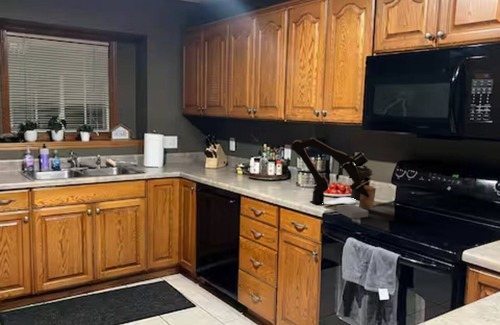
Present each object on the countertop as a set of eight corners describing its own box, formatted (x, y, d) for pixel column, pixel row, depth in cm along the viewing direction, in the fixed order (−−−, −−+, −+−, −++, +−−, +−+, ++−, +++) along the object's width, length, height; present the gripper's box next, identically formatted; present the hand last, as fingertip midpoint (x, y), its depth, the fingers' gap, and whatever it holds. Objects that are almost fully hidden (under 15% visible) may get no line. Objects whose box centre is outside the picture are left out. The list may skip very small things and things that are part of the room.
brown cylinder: (359, 207, 239) (361, 188, 237) (362, 204, 244) (364, 186, 242) (369, 209, 236) (372, 190, 234) (373, 207, 241) (375, 188, 239)
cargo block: (363, 191, 238) (364, 186, 237) (365, 190, 241) (366, 185, 240) (370, 193, 236) (371, 187, 235) (372, 191, 239) (373, 186, 238)
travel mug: (354, 196, 269) (358, 164, 265) (365, 199, 264) (369, 166, 260) (348, 198, 264) (351, 165, 260) (359, 201, 259) (363, 168, 255)
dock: (336, 211, 236) (337, 206, 235) (352, 209, 241) (353, 204, 240) (351, 218, 225) (351, 212, 225) (367, 216, 230) (368, 211, 230)
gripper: (358, 166, 230) (376, 190, 226) (369, 161, 245) (387, 184, 242) (342, 178, 235) (360, 202, 232) (354, 172, 251) (371, 195, 247)
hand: (370, 195), depth 238 cm, fingers closed on brown cylinder, 6 cm apart
